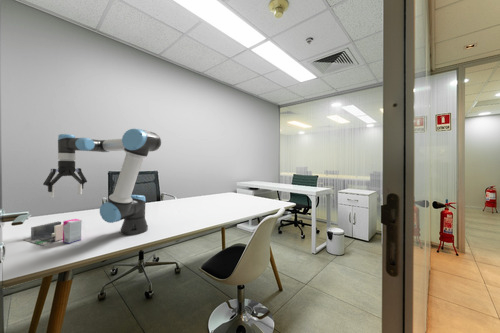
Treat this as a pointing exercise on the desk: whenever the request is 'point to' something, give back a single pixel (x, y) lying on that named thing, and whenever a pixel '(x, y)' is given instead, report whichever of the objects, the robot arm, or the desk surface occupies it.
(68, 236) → the supplement box
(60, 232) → the plunger
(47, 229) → the gauge base
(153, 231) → the desk surface
